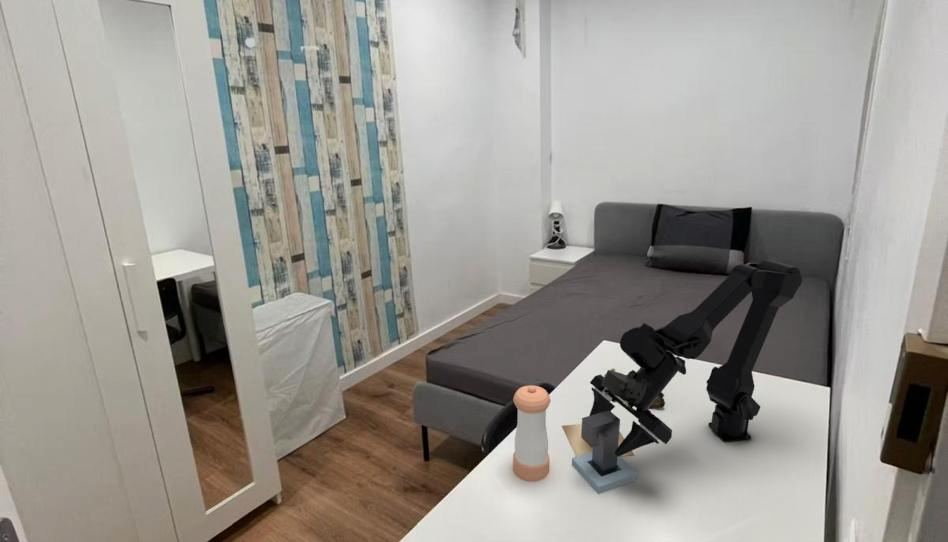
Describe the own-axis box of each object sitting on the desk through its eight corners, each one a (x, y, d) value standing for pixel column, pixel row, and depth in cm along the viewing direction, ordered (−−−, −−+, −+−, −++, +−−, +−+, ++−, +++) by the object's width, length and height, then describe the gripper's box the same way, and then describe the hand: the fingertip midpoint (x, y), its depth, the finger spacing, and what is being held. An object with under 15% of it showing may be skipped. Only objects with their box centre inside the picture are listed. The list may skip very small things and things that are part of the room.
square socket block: (608, 454, 107) (609, 446, 106) (636, 481, 99) (637, 473, 98) (571, 466, 103) (572, 458, 103) (598, 495, 96) (598, 486, 95)
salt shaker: (507, 464, 105) (506, 381, 99) (538, 455, 107) (539, 374, 101) (522, 487, 98) (523, 400, 92) (556, 477, 101) (558, 392, 95)
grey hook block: (605, 464, 103) (609, 410, 99) (616, 474, 100) (620, 419, 96) (579, 472, 101) (582, 417, 97) (589, 483, 98) (592, 427, 94)
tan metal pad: (612, 423, 117) (613, 421, 117) (634, 457, 106) (634, 454, 105) (561, 427, 116) (561, 425, 116) (577, 462, 104) (577, 460, 104)
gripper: (600, 338, 103) (551, 398, 103) (665, 380, 87) (608, 452, 86) (628, 365, 109) (582, 422, 108) (695, 410, 92) (641, 477, 91)
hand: (601, 441), depth 98 cm, fingers open, 9 cm apart
